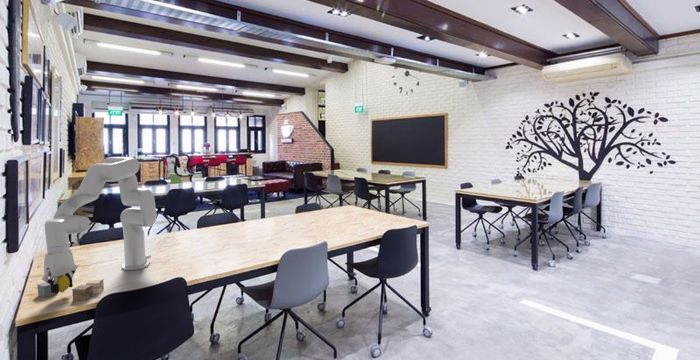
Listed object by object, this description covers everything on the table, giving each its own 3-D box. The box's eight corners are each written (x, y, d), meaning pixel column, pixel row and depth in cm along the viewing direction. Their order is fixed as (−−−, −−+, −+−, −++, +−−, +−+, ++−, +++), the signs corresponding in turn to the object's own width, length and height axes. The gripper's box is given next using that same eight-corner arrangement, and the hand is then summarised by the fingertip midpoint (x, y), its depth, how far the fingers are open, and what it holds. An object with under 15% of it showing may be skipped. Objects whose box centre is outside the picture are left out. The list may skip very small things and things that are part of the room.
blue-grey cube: (51, 291, 166) (50, 280, 165) (57, 293, 164) (57, 282, 163) (38, 295, 161) (37, 284, 161) (44, 297, 159) (43, 286, 159)
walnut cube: (81, 295, 161) (81, 284, 161) (93, 296, 161) (92, 284, 161) (73, 300, 156) (72, 289, 156) (84, 301, 156) (84, 289, 156)
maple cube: (91, 290, 168) (90, 279, 167) (103, 289, 169) (103, 278, 169) (86, 294, 163) (85, 283, 162) (99, 293, 164) (98, 282, 164)
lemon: (52, 292, 159) (50, 274, 158) (68, 288, 163) (66, 271, 162) (56, 296, 155) (54, 277, 154) (72, 292, 160) (70, 274, 159)
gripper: (69, 242, 166) (73, 281, 168) (30, 254, 149) (34, 297, 151) (84, 243, 165) (87, 282, 167) (45, 255, 148) (49, 299, 150)
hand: (62, 289), depth 159 cm, fingers closed on lemon, 5 cm apart
